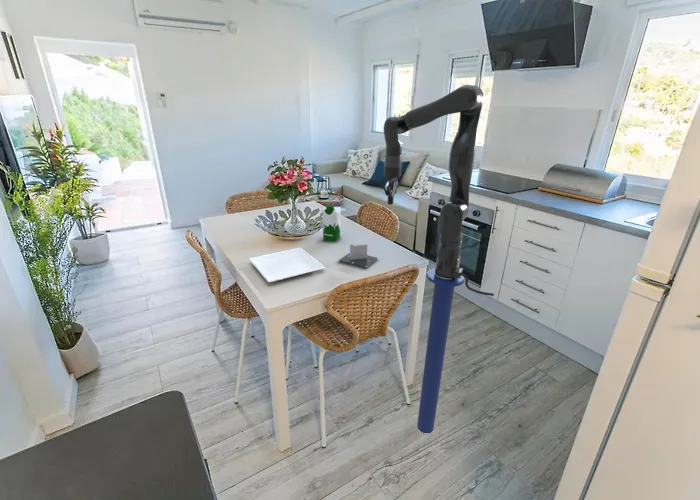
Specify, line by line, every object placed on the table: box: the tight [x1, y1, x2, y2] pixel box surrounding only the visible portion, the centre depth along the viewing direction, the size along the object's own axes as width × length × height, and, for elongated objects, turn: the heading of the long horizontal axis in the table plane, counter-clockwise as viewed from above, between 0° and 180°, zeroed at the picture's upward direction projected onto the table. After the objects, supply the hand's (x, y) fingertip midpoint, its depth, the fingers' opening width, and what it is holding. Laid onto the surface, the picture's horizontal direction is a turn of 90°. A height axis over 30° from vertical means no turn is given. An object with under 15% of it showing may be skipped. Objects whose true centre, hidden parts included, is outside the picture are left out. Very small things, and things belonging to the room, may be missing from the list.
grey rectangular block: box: [349, 243, 368, 260], centre depth 163 cm, size 8×2×7 cm, turn 105°
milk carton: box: [321, 204, 342, 243], centre depth 187 cm, size 9×9×20 cm
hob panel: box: [338, 252, 378, 270], centre depth 164 cm, size 14×12×2 cm
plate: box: [248, 247, 326, 283], centre depth 157 cm, size 26×26×2 cm
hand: (390, 204), depth 159 cm, fingers closed
